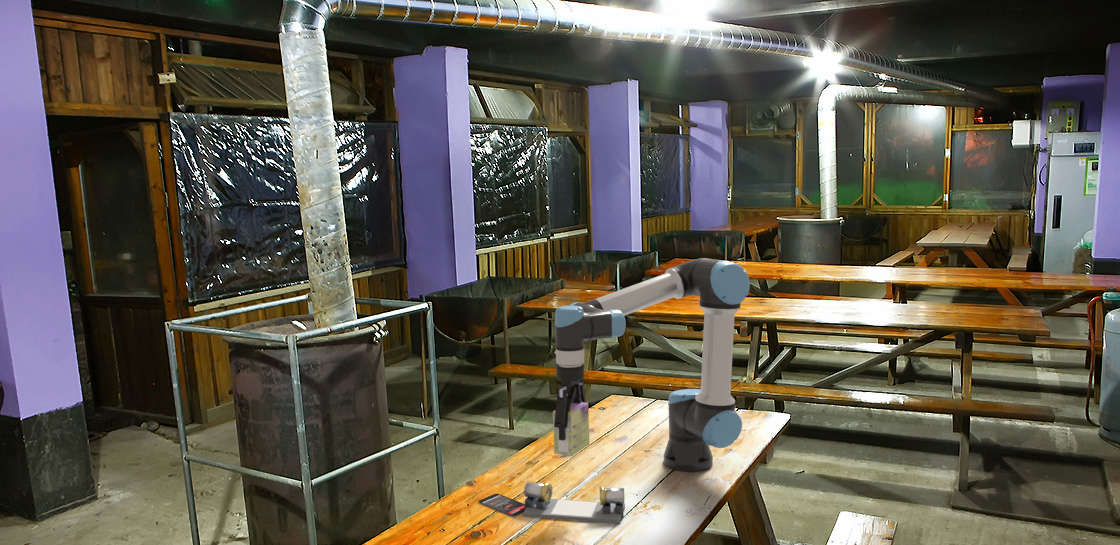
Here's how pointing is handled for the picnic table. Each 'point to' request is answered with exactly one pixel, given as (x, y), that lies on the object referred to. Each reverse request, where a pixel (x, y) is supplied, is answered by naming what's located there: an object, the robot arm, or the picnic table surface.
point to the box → (575, 429)
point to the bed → (575, 511)
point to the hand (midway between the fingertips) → (571, 443)
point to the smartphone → (503, 505)
